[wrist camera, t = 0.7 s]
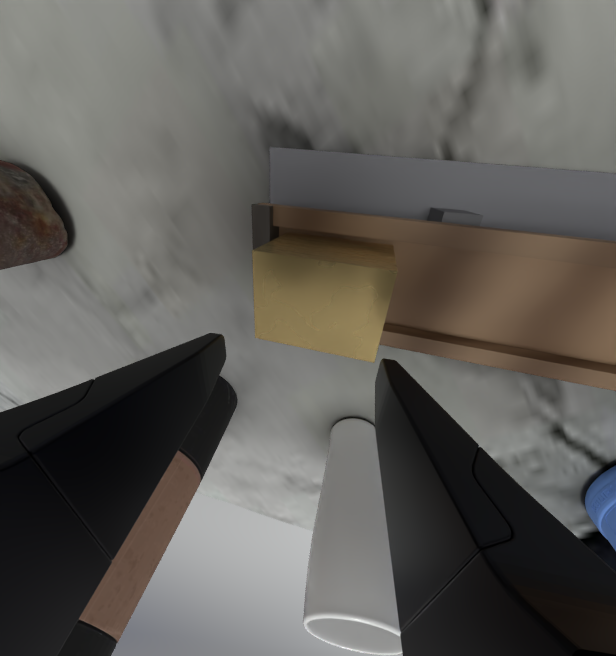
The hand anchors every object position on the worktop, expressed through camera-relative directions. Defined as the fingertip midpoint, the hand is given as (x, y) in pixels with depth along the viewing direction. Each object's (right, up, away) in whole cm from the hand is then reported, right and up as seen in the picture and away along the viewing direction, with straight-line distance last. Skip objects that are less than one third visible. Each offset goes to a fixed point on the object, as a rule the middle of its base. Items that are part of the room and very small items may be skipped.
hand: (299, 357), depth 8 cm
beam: (+8, +3, +7) cm, 11 cm away
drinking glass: (+5, -11, +20) cm, 24 cm away
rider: (+2, +4, +7) cm, 9 cm away
